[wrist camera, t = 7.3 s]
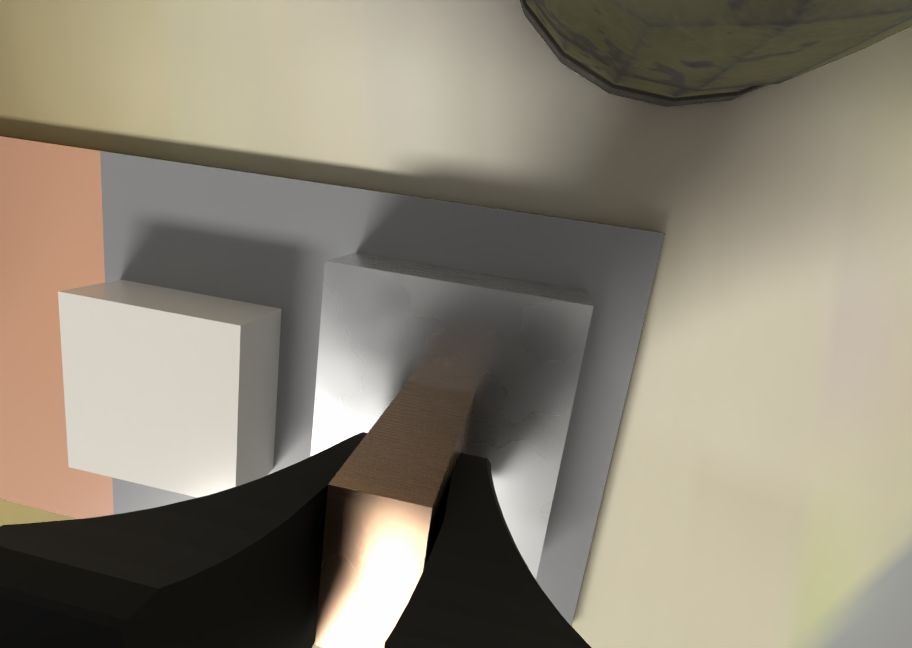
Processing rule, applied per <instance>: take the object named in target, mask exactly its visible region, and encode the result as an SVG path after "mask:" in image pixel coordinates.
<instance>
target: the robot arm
mask: <svg viewBox="0 0 912 648" xmlns="http://www.w3.org/2000/svg"><path fill="white" fill-rule="evenodd" d="M366 434H367V433H364V432H362V433H359V434H357V435H354V436H352V437H350V438H348V439H346V440H344V441H342V442H340V443H338V444H336V445H334V446H331V447H329V448H327V449H325V450H323V451H321V452H319V453H317V454H315V455H313V456H311V457H309V458H306V459H304V460H302V461H300V462H298V463H295V464H293V465H291V466H288V467H286V468H283V469H281V470H279V471H276V472H274V473H272V474H269V475H267V476H264V477H262V478H259V479H257V480H254V481H251V482H248V483H245V484H243V485H240V486H236V487H233V488H230V489H227V490H224V491H220V492H217V493H214V494H210V495H207V496H203V497H198V498H194V499H190V500H186V501H181V502H177V503H173V504H169V505H164V506H160V507H155V508H150V509H145V510H139V511H133V512H127V513H121V514H114V515H107V516H100V517H93V518H84V519H76V520H64V521H52V522H40V523H29V524H15V525H3V526H1V527H0V648H312V646H313V644H314V642H315V636H316V624H317V612H318V600H319V588H320V577H321V565H322V553H323V541H324V529H325V517H326V505H327V493H328V484H329V483H330V481H331V480H332V479H333V477H334V476H335V475H336V474H337V472H338V471H339V470H340V468H341V467H342V466H343V464H344V463H345V462H346V461H347V459H348V458H349V457H350V455H351V454H352V453H353V451H354V450H355V449H356V447H357V446H358V445H359V444H360V442H361V441H362V440H363V438H364V437H365V436H366ZM384 648H591V647H590V646H589V645H588V644H587V643H586V642H585V641H584V639H583V638H582V637H581V636H580V635H579V634H578V633H577V632H576V631H575V630H574V629H573V627H572V626H571V625H570V624H569V623H568V622H567V621H566V620H565V618H564V617H563V616H562V615H561V614H560V612H559V611H558V610H557V608H556V607H555V606H554V604H553V603H552V602H551V600H550V599H549V598H548V597H547V595H546V594H545V593H544V591H543V590H542V588H541V587H540V585H539V584H538V582H537V581H536V579H535V578H534V576H533V575H532V573H531V571H530V570H529V568H528V566H527V564H526V563H525V561H524V559H523V557H522V556H521V554H520V552H519V550H518V548H517V546H516V544H515V542H514V540H513V537H512V535H511V533H510V531H509V528H508V526H507V524H506V521H505V519H504V516H503V513H502V510H501V508H500V505H499V502H498V499H497V495H496V492H495V488H494V484H493V479H492V473H491V463H490V461H489V460H488V458H484V457H479V456H474V455H469V454H465V453H461V454H460V455H459V457H458V459H457V461H456V463H455V465H454V467H453V471H452V476H451V482H450V488H449V494H448V500H447V505H446V511H445V516H444V519H443V523H442V527H441V529H440V532H439V534H438V537H437V539H436V542H435V544H434V547H433V549H432V552H431V554H430V556H429V559H428V561H427V563H426V566H425V568H424V570H423V573H422V575H421V577H420V579H419V581H418V583H417V585H416V587H415V589H414V592H413V594H412V596H411V598H410V600H409V602H408V604H407V606H406V607H405V609H404V611H403V613H402V615H401V616H400V618H399V620H398V622H397V623H396V625H395V627H394V629H393V631H392V632H391V634H390V636H389V637H388V639H387V640H386V642H385V645H384Z"/></svg>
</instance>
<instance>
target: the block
mask: <svg viewBox="0 0 912 648" xmlns="http://www.w3.org/2000/svg"><path fill="white" fill-rule="evenodd" d="M58 302H59V318H60V334H61V351H62V367H63V383H64V400H65V416H66V432H67V449H68V465H69V467H70V468H75V469H79V470H83V471H87V472H91V473H96V474H100V475H104V476H108V477H112V478H117V479H121V480H125V481H129V482H133V483H138V484H142V485H146V486H150V487H155V488H159V489H163V490H167V491H171V492H176V493H180V494H184V495H188V496H192V497H197V498H198V497H203V496H207V495H210V494H214V493H217V492H220V491H224V490H227V489H230V488H233V487H236V486H240V485H243V484H245V483H248V482H251V481H254V480H257V479H259V478H262V477H264V476H266V475H268V474H269V473H270V472H271V471H272V470H273V462H274V443H275V424H276V405H277V385H278V366H279V347H280V328H281V309H280V308H275V307H269V306H264V305H258V304H253V303H247V302H242V301H236V300H231V299H225V298H220V297H214V296H209V295H203V294H198V293H192V292H187V291H181V290H176V289H170V288H165V287H159V286H153V285H148V284H142V283H137V282H131V281H126V280H115V281H109V282H104V283H99V284H94V285H88V286H83V287H78V288H73V289H67V290H62V291H58Z"/></svg>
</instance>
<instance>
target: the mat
mask: <svg viewBox="0 0 912 648" xmlns="http://www.w3.org/2000/svg"><path fill="white" fill-rule="evenodd" d="M664 235H665V234H664V233H661V232H654V231H648V230H641V229H634V228H627V227H620V226H613V225H607V224H600V223H593V222H586V221H579V220H572V219H566V218H559V217H552V216H545V215H538V214H531V213H524V212H518V211H511V210H504V209H497V208H490V207H483V206H477V205H470V204H463V203H456V202H449V201H442V200H436V199H429V198H422V197H415V196H408V195H401V194H395V193H388V192H381V191H374V190H367V189H360V188H353V187H347V186H340V185H333V184H326V183H319V182H312V181H306V180H299V179H292V178H285V177H278V176H271V175H265V174H258V173H251V172H244V171H237V170H230V169H224V168H217V167H210V166H203V165H196V164H189V163H183V162H176V161H169V160H162V159H155V158H148V157H141V156H135V155H128V154H121V153H114V152H107V151H100V150H94V149H87V148H80V147H73V146H66V145H59V144H53V143H46V142H39V141H32V140H25V139H18V138H12V137H5V136H0V499H2V500H6V501H10V502H14V503H18V504H22V505H26V506H30V507H34V508H38V509H42V510H46V511H50V512H54V513H58V514H62V515H66V516H70V517H74V518H78V519H84V518H93V517H100V516H107V515H114V514H121V513H127V512H133V511H139V510H145V509H150V508H155V507H160V506H164V505H169V504H173V503H177V502H181V501H186V500H190V499H194V498H197V497H192V496H188V495H184V494H180V493H176V492H171V491H167V490H163V489H159V488H155V487H150V486H146V485H142V484H138V483H133V482H129V481H125V480H121V479H117V478H112V477H108V476H104V475H100V474H96V473H91V472H87V471H83V470H79V469H75V468H70V467H69V465H68V449H67V432H66V416H65V400H64V383H63V367H62V351H61V334H60V318H59V302H58V291H62V290H67V289H73V288H78V287H83V286H88V285H94V284H99V283H104V282H109V281H115V280H126V281H131V282H137V283H142V284H148V285H153V286H159V287H165V288H170V289H176V290H181V291H187V292H192V293H198V294H203V295H209V296H214V297H220V298H225V299H231V300H236V301H242V302H247V303H253V304H258V305H264V306H269V307H275V308H280V309H281V328H280V347H279V366H278V385H277V405H276V424H275V443H274V462H273V470H272V471H271V472H270V473H269V474H272V473H274V472H276V471H279V470H281V469H283V468H286V467H288V466H291V465H293V464H295V463H298V462H300V461H302V460H304V459H306V458H309V457H311V444H312V430H313V416H314V402H315V389H316V375H317V361H318V347H319V334H320V320H321V306H322V292H323V279H324V265H325V261H327V260H330V259H334V258H337V257H341V256H344V255H348V254H351V253H355V252H358V253H364V254H370V255H376V256H383V257H389V258H395V259H401V260H407V261H413V262H419V263H425V264H431V265H438V266H444V267H450V268H456V269H462V270H468V271H474V272H480V273H486V274H493V275H499V276H505V277H511V278H517V279H523V280H529V281H535V282H541V283H548V284H554V285H560V286H566V287H572V288H578V289H584V290H587V291H588V294H589V296H590V299H591V301H592V303H593V306H594V307H593V312H592V316H591V321H590V326H589V331H588V335H587V340H586V345H585V350H584V354H583V359H582V364H581V369H580V373H579V378H578V383H577V388H576V392H575V397H574V402H573V406H572V411H571V416H570V421H569V425H568V430H567V435H566V440H565V444H564V449H563V454H562V459H561V463H560V468H559V473H558V478H557V482H556V487H555V492H554V497H553V501H552V506H551V511H550V515H549V520H548V525H547V530H546V534H545V539H544V544H543V549H542V553H541V558H540V563H539V568H538V572H537V577H536V581H537V582H538V584H539V585H540V587H541V588H542V590H543V591H544V593H545V594H546V595H547V597H548V598H549V599H550V600H551V602H552V603H553V604H554V606H555V607H556V608H557V610H558V611H559V612H560V614H561V615H562V616H563V617H564V618H565V620H566V621H567V622H568V623H569V624H570V625H571V626H572V622H573V618H574V614H575V609H576V605H577V601H578V597H579V593H580V588H581V584H582V580H583V576H584V572H585V567H586V563H587V559H588V555H589V551H590V546H591V542H592V538H593V534H594V529H595V525H596V521H597V517H598V513H599V508H600V504H601V500H602V496H603V492H604V487H605V483H606V479H607V475H608V471H609V466H610V462H611V458H612V454H613V450H614V445H615V441H616V437H617V433H618V429H619V424H620V420H621V416H622V412H623V407H624V403H625V399H626V395H627V391H628V386H629V382H630V378H631V374H632V370H633V365H634V361H635V357H636V353H637V349H638V344H639V340H640V336H641V332H642V328H643V323H644V319H645V315H646V311H647V307H648V302H649V298H650V294H651V290H652V285H653V281H654V277H655V273H656V269H657V264H658V260H659V256H660V252H661V248H662V243H663V239H664ZM269 474H268V475H269ZM266 476H267V475H266Z"/></svg>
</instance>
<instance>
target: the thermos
mask: <svg viewBox="0 0 912 648" xmlns="http://www.w3.org/2000/svg"><path fill="white" fill-rule="evenodd" d="M520 2H521V5H522V8H523V11H524V14H525V16H526V17H527V19H528V20H529V21H530V22H531V24H532V25H533V26H534V28H535V29H536V30H537V32H538V33H539V34H540V35H541V37H542V38H543V39H544V41H545V42H546V43H547V45H548V46H549V47H550V48H551V50H552V51H553V52H554V54H555V55H556V56H557V58H558V59H559V60H560V61H561V63H563V64H565V65H566V66H568V67H569V68H571V69H572V70H574V71H575V72H577V73H579V74H580V75H582V76H583V77H585V78H586V79H588V80H589V81H591V82H593V83H594V84H596V85H597V86H599V87H600V88H602V89H603V90H605V91H607V92H608V93H610V94H615V95H619V96H623V97H628V98H632V99H636V100H641V101H645V102H649V103H654V104H658V105H662V106H677V105H687V104H697V103H707V102H717V101H727V100H731V99H734V98H736V97H739V96H741V95H743V94H746V93H748V92H751V91H753V90H755V89H758V88H760V87H763V86H765V85H768V84H778V83H781V82H784V81H786V80H788V79H791V78H793V77H796V76H798V75H801V74H803V73H805V72H808V71H810V70H813V69H815V68H817V67H820V66H822V65H825V64H827V63H830V62H832V61H834V60H837V59H839V58H842V57H844V56H846V55H849V54H851V53H854V52H856V51H859V50H861V49H863V48H866V47H868V46H870V45H872V44H874V43H876V42H878V41H880V40H883V39H885V38H887V37H889V36H891V35H893V34H895V33H897V32H899V31H902V30H904V29H906V28H908V27H910V26H912V0H520Z"/></svg>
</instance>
